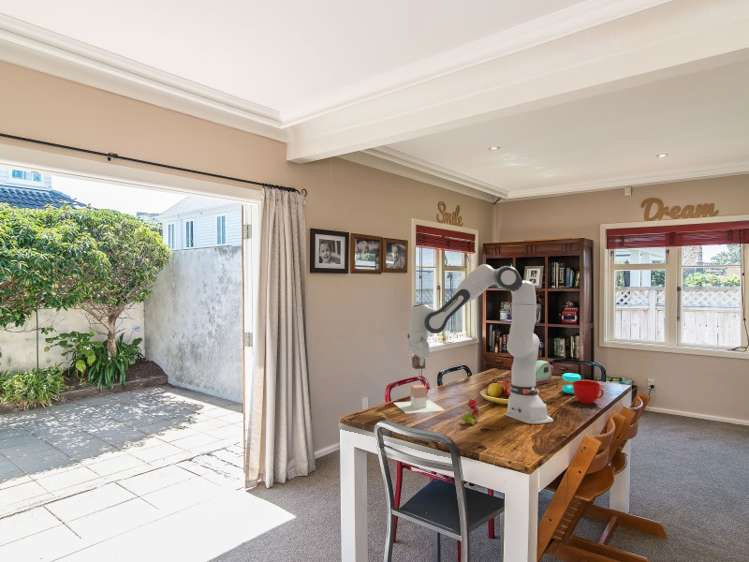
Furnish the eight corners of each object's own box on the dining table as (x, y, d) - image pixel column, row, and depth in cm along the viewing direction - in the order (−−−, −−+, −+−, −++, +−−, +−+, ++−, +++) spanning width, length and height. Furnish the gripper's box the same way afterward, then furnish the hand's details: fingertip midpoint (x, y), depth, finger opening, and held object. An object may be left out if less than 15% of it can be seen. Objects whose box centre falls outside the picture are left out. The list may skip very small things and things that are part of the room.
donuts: (558, 374, 275) (567, 372, 281) (558, 391, 275) (567, 389, 281) (575, 377, 267) (584, 374, 273) (575, 395, 267) (584, 392, 274)
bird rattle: (469, 424, 219) (458, 420, 214) (475, 401, 222) (464, 396, 217) (480, 428, 215) (469, 423, 209) (487, 403, 217) (475, 399, 212)
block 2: (426, 407, 236) (426, 397, 236) (415, 408, 235) (415, 398, 235) (421, 404, 242) (422, 394, 242) (410, 405, 240) (410, 395, 240)
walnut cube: (425, 368, 236) (425, 358, 236) (415, 368, 235) (415, 358, 235) (421, 366, 241) (421, 356, 241) (412, 367, 240) (412, 357, 240)
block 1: (426, 397, 236) (426, 387, 236) (415, 398, 235) (415, 388, 234) (422, 394, 242) (422, 384, 242) (410, 395, 240) (410, 385, 240)
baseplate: (445, 412, 231) (445, 410, 231) (406, 415, 226) (406, 413, 226) (429, 402, 251) (429, 400, 251) (393, 405, 245) (393, 402, 245)
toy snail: (533, 386, 288) (533, 363, 288) (522, 384, 294) (522, 361, 294) (557, 381, 303) (557, 359, 303) (546, 379, 309) (546, 357, 309)
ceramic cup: (593, 408, 240) (593, 388, 240) (567, 400, 255) (567, 381, 255) (612, 405, 245) (612, 386, 245) (585, 398, 260) (585, 379, 260)
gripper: (432, 338, 229) (432, 367, 229) (417, 333, 249) (417, 360, 249) (420, 339, 227) (420, 368, 227) (406, 334, 247) (405, 361, 247)
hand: (418, 364), depth 238 cm, fingers closed on walnut cube, 5 cm apart
